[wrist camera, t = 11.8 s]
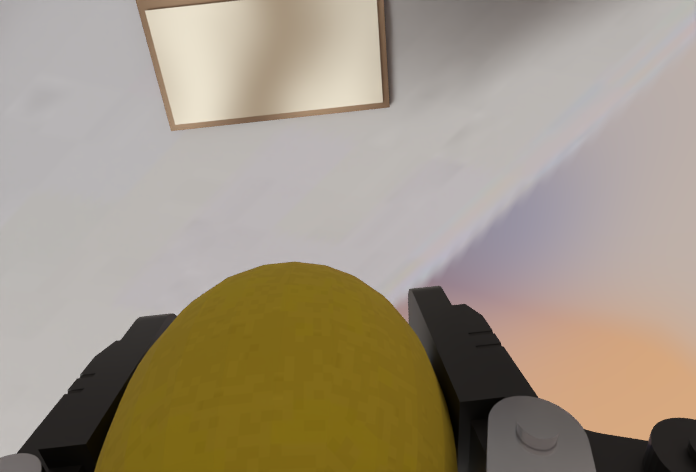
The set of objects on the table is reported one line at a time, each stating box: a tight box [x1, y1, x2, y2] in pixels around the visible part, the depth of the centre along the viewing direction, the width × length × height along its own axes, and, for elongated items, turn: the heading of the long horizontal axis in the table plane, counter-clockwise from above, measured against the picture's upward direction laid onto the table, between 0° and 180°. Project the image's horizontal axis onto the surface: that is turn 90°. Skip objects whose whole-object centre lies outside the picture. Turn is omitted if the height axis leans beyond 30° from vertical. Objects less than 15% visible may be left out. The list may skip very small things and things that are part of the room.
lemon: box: [94, 262, 458, 472], centre depth 7 cm, size 6×6×8 cm
